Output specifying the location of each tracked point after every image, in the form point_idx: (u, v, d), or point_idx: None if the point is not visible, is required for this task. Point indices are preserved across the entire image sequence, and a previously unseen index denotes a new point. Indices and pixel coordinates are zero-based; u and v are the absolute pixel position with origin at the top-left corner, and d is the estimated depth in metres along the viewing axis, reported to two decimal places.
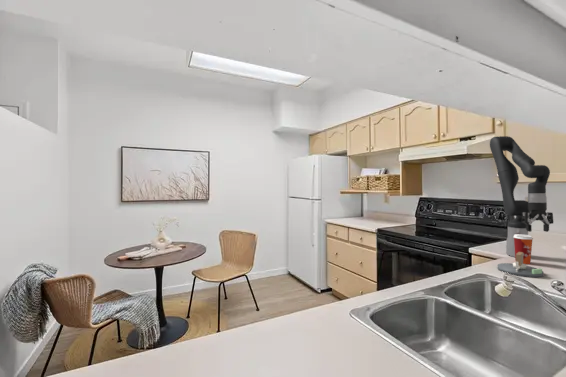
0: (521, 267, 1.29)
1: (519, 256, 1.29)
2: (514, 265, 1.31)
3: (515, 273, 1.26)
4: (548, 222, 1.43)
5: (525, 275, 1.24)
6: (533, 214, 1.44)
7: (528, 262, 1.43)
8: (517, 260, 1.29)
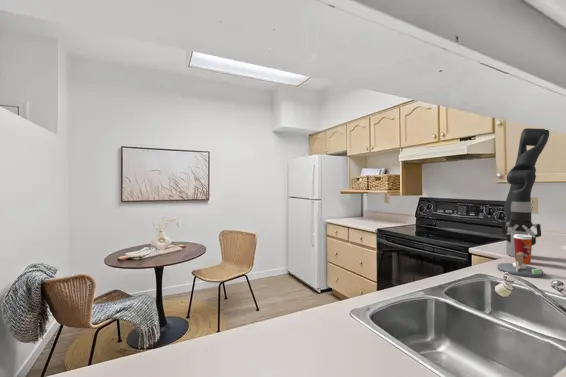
0: (521, 267, 1.29)
1: (519, 256, 1.29)
2: (514, 265, 1.31)
3: (515, 273, 1.26)
4: None
5: (525, 275, 1.24)
6: None
7: (528, 262, 1.43)
8: (517, 260, 1.29)
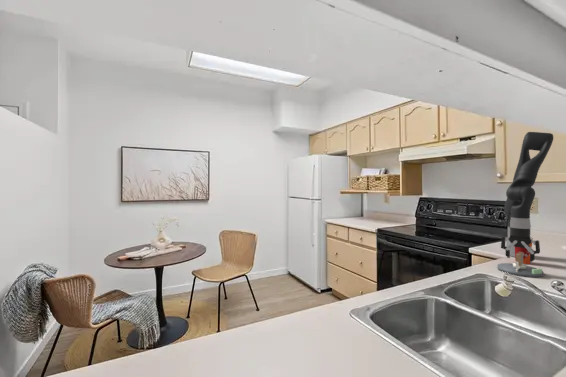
0: (521, 267, 1.29)
1: (519, 256, 1.29)
2: (514, 265, 1.31)
3: (515, 273, 1.26)
4: (508, 247, 1.36)
5: (525, 275, 1.24)
6: None
7: (528, 262, 1.43)
8: (517, 260, 1.29)
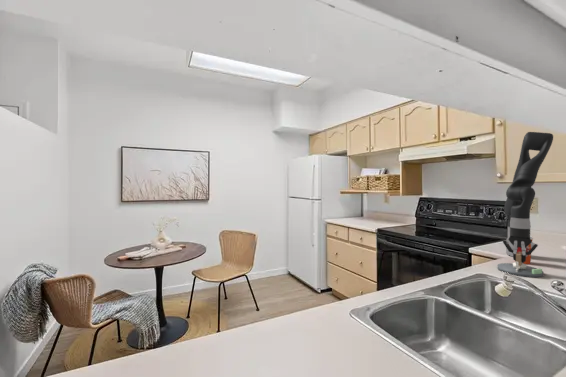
0: (521, 267, 1.29)
1: (519, 256, 1.29)
2: (514, 265, 1.31)
3: (515, 273, 1.26)
4: None
5: (525, 275, 1.24)
6: None
7: (528, 262, 1.43)
8: (517, 260, 1.29)
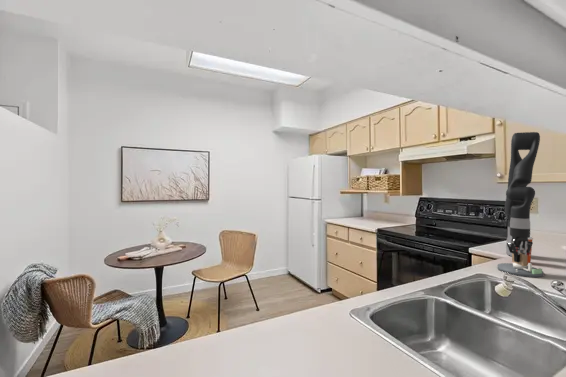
0: (525, 267, 1.29)
1: (526, 256, 1.28)
2: (519, 266, 1.30)
3: (515, 273, 1.26)
4: None
5: (525, 275, 1.24)
6: None
7: (528, 262, 1.43)
8: (524, 261, 1.28)
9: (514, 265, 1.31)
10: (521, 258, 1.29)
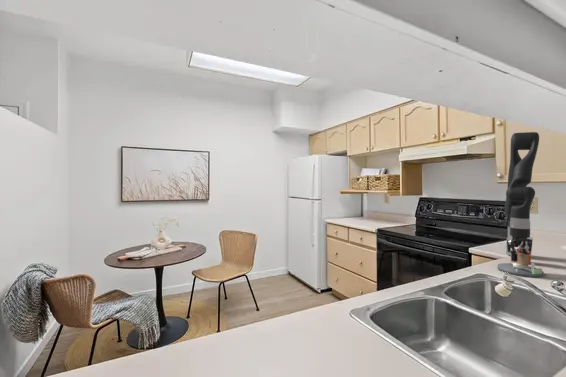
0: None
1: (527, 256, 1.28)
2: (520, 266, 1.29)
3: (515, 273, 1.26)
4: None
5: (525, 275, 1.24)
6: None
7: None
8: (526, 261, 1.28)
9: (515, 265, 1.31)
10: (522, 258, 1.29)
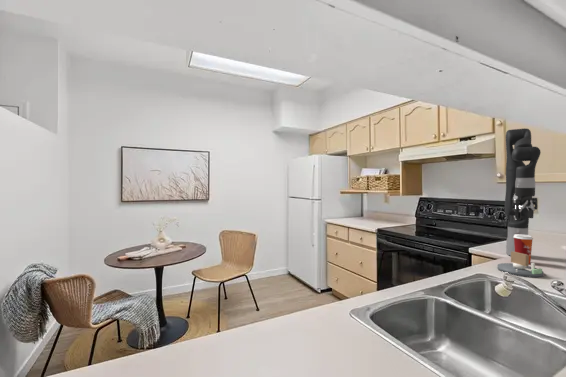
0: None
1: (527, 256, 1.28)
2: (520, 266, 1.29)
3: (515, 273, 1.26)
4: None
5: (525, 275, 1.24)
6: None
7: None
8: (526, 261, 1.28)
9: (515, 265, 1.31)
10: (523, 258, 1.29)
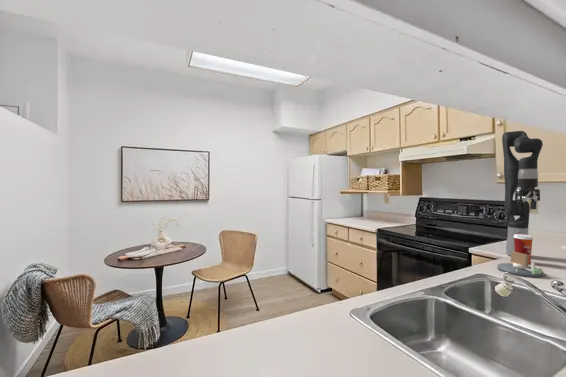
0: None
1: (527, 256, 1.28)
2: (520, 266, 1.29)
3: (515, 273, 1.26)
4: None
5: (525, 275, 1.24)
6: None
7: None
8: (526, 261, 1.28)
9: (515, 265, 1.31)
10: (523, 258, 1.29)
